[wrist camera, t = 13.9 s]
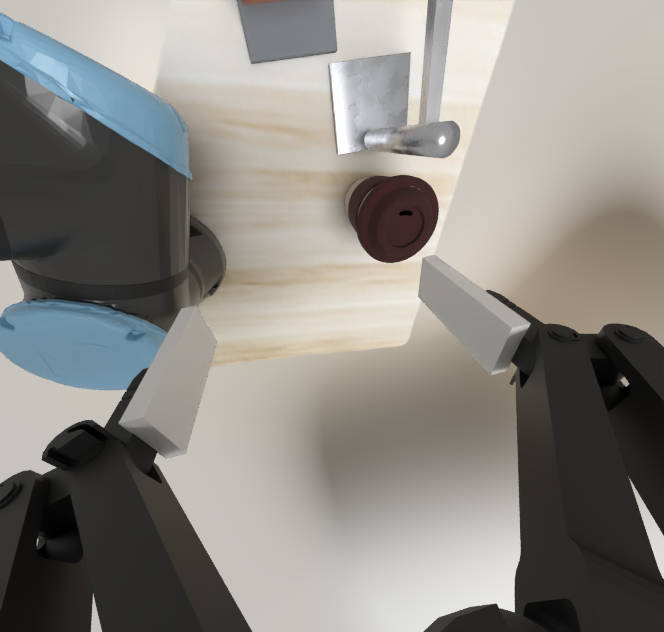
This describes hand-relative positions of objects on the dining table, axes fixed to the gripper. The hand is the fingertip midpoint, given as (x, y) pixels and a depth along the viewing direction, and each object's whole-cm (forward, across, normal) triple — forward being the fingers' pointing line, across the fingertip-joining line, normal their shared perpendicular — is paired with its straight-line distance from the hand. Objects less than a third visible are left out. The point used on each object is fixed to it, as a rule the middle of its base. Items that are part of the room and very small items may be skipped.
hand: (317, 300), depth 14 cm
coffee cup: (+29, +12, -2) cm, 31 cm away
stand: (+29, +13, +12) cm, 34 cm away
